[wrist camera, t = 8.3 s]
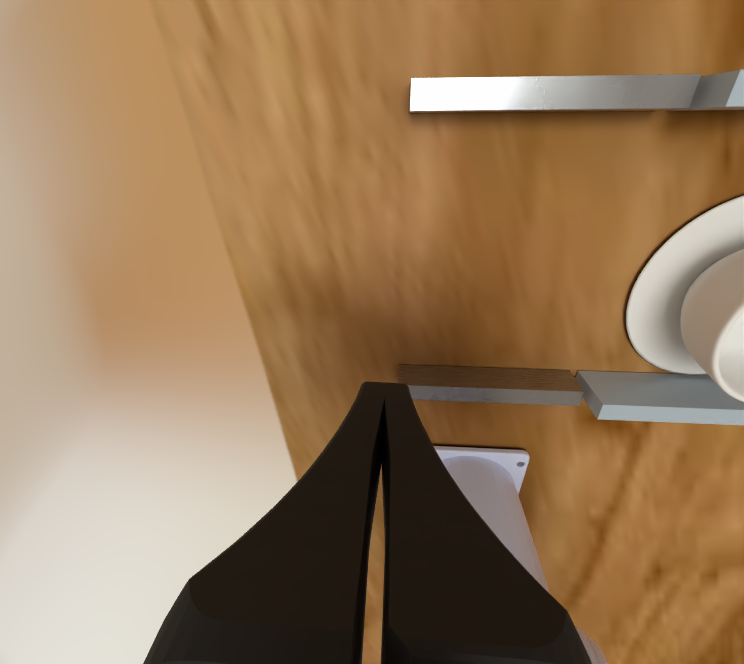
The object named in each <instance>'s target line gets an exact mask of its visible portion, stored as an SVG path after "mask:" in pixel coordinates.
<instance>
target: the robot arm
mask: <svg viewBox="0 0 744 664" xmlns="http://www.w3.org/2000/svg"><path fill="white" fill-rule="evenodd" d="M528 462H529V455H528V453H527V452H526V451H524V450H510V449H489V448H467V447H446V446H433V445H432V443H431V441H430V439H429V437H428V435H427V433H426V431H425V429H424V427H423V425H422V423H421V420H420V418H419V416H418V414H417V411H416V409H415V406H414V403H413V401H412V398H411V394H410V391H409V387H408V386H407V385H406V384H400V383H382V382H364V383H363V384H362V385H361V388H360V391H359V393H358V395H357V398H356V400H355V402H354V403H353V405H352V407H351V409H350V411H349V413H348V414H347V416H346V418H345V419H344V421H343V422H342V424H341V426H340V427H339V429H338V430H337V432H336V433H335V435H334V436H333V438H332V439H331V441H330V442H329V443H328V445H327V446H326V448H325V449H324V450H323V452H322V453H321V454H320V456H319V457H318V458H317V460H316V461H315V462H314V463H313V465H312V466H311V467H310V468H309V469H308V471H307V472H306V473H305V474H304V475H303V476H302V478H301V479H300V480H299V481H298V482H297V483H296V484H295V485H294V486H293V487H292V489H291V490H290V491H289V492H288V493H287V494H286V495H285V496H284V497H283V498H282V499H281V500H280V501H279V502H278V503H277V504H276V505H275V506H274V507H273V508H272V509H271V510H270V511H269V512H268V513H267V514H266V515H265V516H264V517H262V518H261V519H260V520H259V521H258V522H257V523H256V524H255V525H254V526H253V527H252V528H250V529H249V530H248V531H247V532H246V533H245V534H244V535H243V536H242V537H241V538H239V539H238V540H237V541H236V542H235V543H234V544H232V545H231V546H230V547H229V548H227V549H226V550H225V551H224V552H222V553H221V554H220V555H219V556H217V557H216V558H215V559H214V560H212V561H211V562H210V563H209V564H208V565H206V566H205V567H204V568H202V569H201V570H200V571H199V572H197V573H196V574H195V575H194V576H192V577H191V578H190V579H189V580H188V582H187V583H186V585H185V586H184V588H183V590H182V591H181V593H180V595H179V596H178V598H177V599H176V601H175V603H174V605H173V606H172V608H171V610H170V611H169V613H168V615H167V616H166V618H165V620H164V622H163V624H162V626H161V628H160V630H159V632H158V634H157V636H156V638H155V640H154V642H153V644H152V646H151V649H150V651H149V653H148V655H147V657H146V659H145V661H144V663H143V664H362V650H363V634H364V619H365V603H366V588H367V573H368V558H369V546H370V537H371V530H372V523H373V517H374V510H375V503H376V497H377V490H378V483H379V477H380V470H381V463H382V485H383V507H384V528H385V566H384V593H383V620H382V647H381V664H608V663H607V660H606V658H605V656H604V654H603V652H602V650H601V648H600V647H599V645H598V644H597V643H596V642H595V641H594V640H592V639H591V638H590V637H589V636H587V635H585V633H584V631H583V630H582V629H581V628H575V626H574V624H573V622H572V620H571V618H570V616H569V614H568V612H567V610H566V609H565V608H564V607H563V606H562V605H561V604H560V603H559V602H558V601H557V600H556V599H555V598H553V597H552V596H551V594H550V591H549V588H548V585H547V582H546V579H545V576H544V573H543V570H542V567H541V563H540V560H539V557H538V554H537V551H536V548H535V545H534V542H533V539H532V536H531V533H530V530H529V527H528V523H527V520H526V517H525V514H524V511H523V508H522V505H521V502H520V499H519V496H518V495H519V491H520V488H521V485H522V482H523V478H524V475H525V472H526V469H527V465H528Z"/></svg>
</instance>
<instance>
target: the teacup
mask: <svg viewBox="0 0 744 664" xmlns="http://www.w3.org/2000/svg"><path fill="white" fill-rule="evenodd" d="M626 327H627V332H628V336H629V339H630V341H631V343H632V345H633V347H634V348H635V350H636V351H637V352H638V354H639V355H640V356H641V357H643V358H644V359H645V360H646V361H647V362H649V363H651V364H652V365H654V366H656V367H658V368H660V369H663V370H666V371H670V372H674V373H679V374H689V375H701V374H708V375H709V376H710V377H711V378H712V379H713V380H714V381H715V383H716V384H717V385H718V386H719V387H720V388H721V389H722V390H723V391H724V392H726V393H727V394H728V395H730V396H731V397H733V398H735V399H737V400H739V401H742V402H744V196H741V197H738V198H735V199H733V200H730V201H728V202H726V203H723V204H721V205H719V206H717V207H715V208H713V209H711V210H709V211H708V212H706V213H704V214H702V215H701V216H699V217H697V218H696V219H694V220H693V221H691V222H690V223H689V224H687V225H686V226H684V227H683V228H682V229H681V230H679V231H678V232H677V233H676V234H674V235H673V236H672V237H671V238H670V239H669V240H668V241H667V242H666V243H665V244H664V245H663V246H662V247H661V248H660V249H659V250H658V251H657V252H656V253H655V254H654V255H653V257H652V258H651V259H650V260H649V262H648V263H647V265H646V266H645V267H644V269H643V270H642V272H641V273H640V275H639V277H638V279H637V281H636V283H635V285H634V287H633V289H632V292H631V294H630V298H629V301H628V305H627V311H626Z"/></svg>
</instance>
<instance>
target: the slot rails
mask: <svg viewBox="0 0 744 664" xmlns="http://www.w3.org/2000/svg"><path fill="white" fill-rule="evenodd" d="M700 76H701V74H677V75H609V76H541V77H472V78H411V82H410V97H409V113H451V112H564V111H657V110H671V109H685V108H689V106H690V104H691V101H692V98H693V95H694V93H695V90H696V87H697V85H698V82H699V79H700ZM399 383H400V384H406V385H407V386H408V387H409V391H410V394H411V398H412V400H438V401H463V402H489V403H514V404H539V405H565V406H579V405H580V403H581V400H582V397H583V394H584V391H583V389H582V388H581V386H580V385H579V383H578V382H577V381H576V379H575V378H574V376H573V375H572V374H571V372H570V371H569V370H549V369H519V368H489V367H459V366H429V365H399Z"/></svg>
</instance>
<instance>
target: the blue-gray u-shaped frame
mask: <svg viewBox="0 0 744 664" xmlns="http://www.w3.org/2000/svg"><path fill="white" fill-rule="evenodd" d="M677 110H744V70H736V71H730V72H725V73H719V74H713V75H708V76H702V77H700V79H699V82H698V85H697V87H696V90H695V93H694V95H693V98H692V101H691V104H690V106H689V108H685V109H671V110H667V111H677ZM575 379H576V381H577V382H578V383H579V385H580V386H581V388H582V389H583V391H584V394H583V397H582V398H583V399H584V400H585V402H586V403H587V405H588V406H589V408H590V409H591V411H592V412H593V414H594V415H595V417H596V418H597V419H605V420H629V421H653V422H678V423H702V424H726V425H744V402H742V401H739V400H737V399H735V398H733V397H731V396H730V395H728V394H727V393H726V392H724V391H723V390H722V389H721V388H720V387H719V386H718V385H717V384H716V383H715V381H714V380H713V379H712V378H711V377H710V376H709V375H689V374H668V373H638V372H608V371H578V372H577V375H576V377H575Z"/></svg>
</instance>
